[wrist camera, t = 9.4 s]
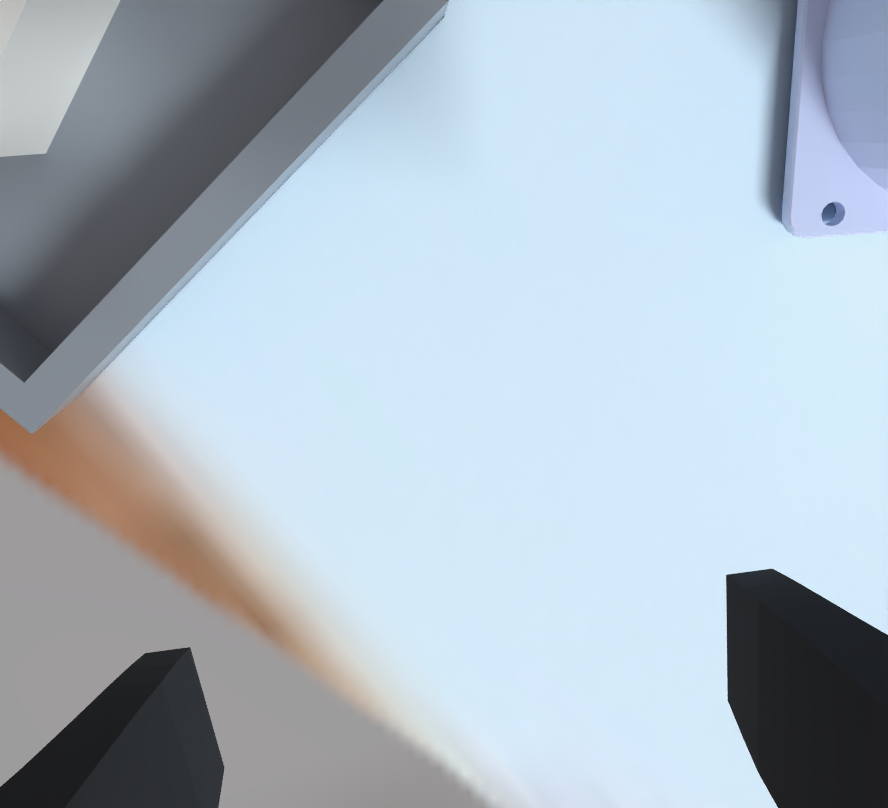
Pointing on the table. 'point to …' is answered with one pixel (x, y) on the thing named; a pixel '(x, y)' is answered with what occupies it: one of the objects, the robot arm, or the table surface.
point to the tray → (170, 167)
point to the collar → (44, 65)
